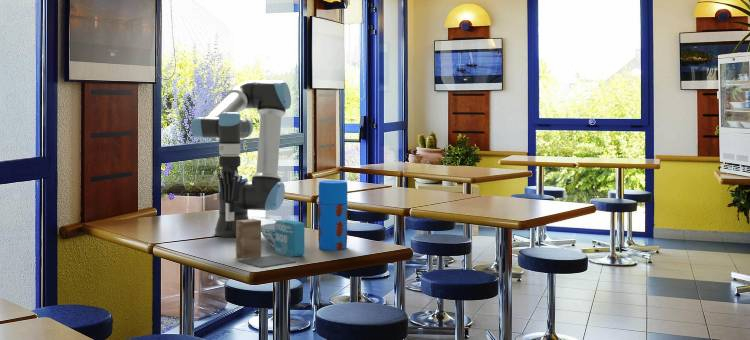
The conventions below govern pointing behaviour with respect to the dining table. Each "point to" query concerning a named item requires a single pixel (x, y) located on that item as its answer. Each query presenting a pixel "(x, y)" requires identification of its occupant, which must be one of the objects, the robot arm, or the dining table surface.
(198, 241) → the dining table surface
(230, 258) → the dining table surface
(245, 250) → the block
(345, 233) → the thermos
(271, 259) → the mat
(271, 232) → the chinaware
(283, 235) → the data package
